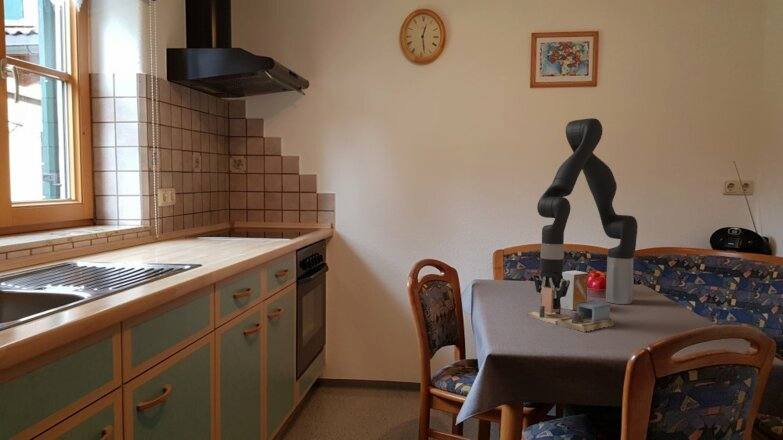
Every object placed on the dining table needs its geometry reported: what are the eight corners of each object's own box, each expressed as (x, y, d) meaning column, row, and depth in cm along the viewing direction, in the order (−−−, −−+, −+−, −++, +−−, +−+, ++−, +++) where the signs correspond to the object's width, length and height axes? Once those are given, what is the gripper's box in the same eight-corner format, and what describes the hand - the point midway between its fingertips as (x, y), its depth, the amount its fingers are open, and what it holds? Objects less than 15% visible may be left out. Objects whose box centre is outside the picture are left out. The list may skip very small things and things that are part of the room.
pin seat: (545, 312, 194) (545, 299, 194) (574, 320, 184) (574, 306, 184) (526, 316, 189) (526, 303, 188) (554, 324, 179) (555, 310, 178)
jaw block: (549, 309, 189) (550, 286, 188) (558, 311, 186) (559, 288, 185) (541, 310, 187) (542, 287, 186) (550, 313, 183) (551, 289, 183)
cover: (592, 315, 185) (592, 300, 184) (609, 319, 179) (610, 304, 179) (576, 318, 180) (577, 303, 180) (593, 322, 175) (594, 307, 174)
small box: (572, 310, 197) (574, 274, 196) (558, 307, 203) (559, 271, 202) (587, 308, 202) (588, 272, 201) (573, 304, 207) (574, 270, 206)
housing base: (587, 318, 186) (588, 305, 186) (613, 325, 178) (614, 311, 178) (557, 324, 178) (558, 310, 178) (584, 332, 170) (584, 317, 169)
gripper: (577, 258, 181) (575, 310, 182) (543, 253, 193) (541, 302, 194) (562, 260, 177) (560, 313, 178) (528, 254, 188) (526, 304, 190)
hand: (550, 307), depth 186 cm, fingers closed on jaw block, 4 cm apart
